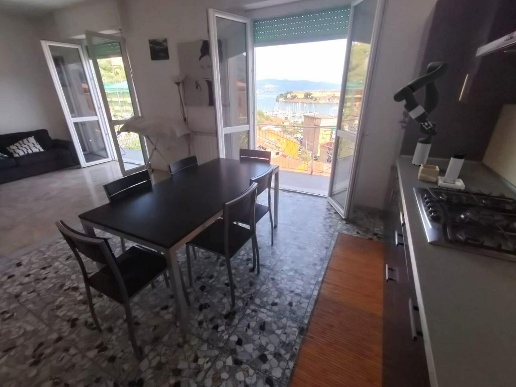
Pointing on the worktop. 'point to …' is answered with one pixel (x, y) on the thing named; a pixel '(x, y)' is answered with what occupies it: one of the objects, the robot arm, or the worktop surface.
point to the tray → (457, 185)
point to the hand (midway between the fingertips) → (434, 133)
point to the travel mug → (454, 168)
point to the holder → (428, 173)
